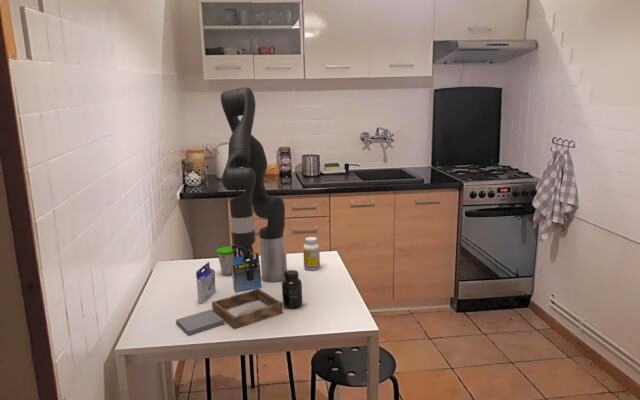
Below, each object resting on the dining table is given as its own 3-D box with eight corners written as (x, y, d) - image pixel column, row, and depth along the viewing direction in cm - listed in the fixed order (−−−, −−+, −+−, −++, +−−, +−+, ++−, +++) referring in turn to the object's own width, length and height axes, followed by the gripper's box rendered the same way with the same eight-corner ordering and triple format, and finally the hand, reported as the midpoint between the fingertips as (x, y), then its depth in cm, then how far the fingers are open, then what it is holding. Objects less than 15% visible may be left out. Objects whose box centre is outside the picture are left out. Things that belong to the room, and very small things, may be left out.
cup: (213, 275, 204) (211, 239, 201) (227, 269, 211) (224, 234, 208) (228, 278, 200) (226, 242, 197) (241, 272, 207) (239, 237, 203)
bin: (258, 297, 182) (258, 288, 181) (282, 312, 169) (282, 303, 168) (212, 311, 171) (211, 302, 170) (234, 328, 159) (233, 318, 158)
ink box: (203, 303, 178) (201, 272, 176) (197, 303, 179) (195, 272, 176) (216, 290, 189) (214, 261, 187) (210, 290, 190) (208, 261, 187)
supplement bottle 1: (305, 302, 177) (304, 269, 174) (298, 310, 171) (297, 276, 168) (287, 299, 179) (285, 268, 176) (279, 307, 173) (278, 275, 170)
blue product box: (259, 284, 172) (256, 250, 169) (261, 288, 168) (259, 253, 165) (233, 288, 169) (230, 254, 166) (235, 293, 165) (232, 257, 162)
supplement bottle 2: (302, 266, 212) (301, 236, 209) (317, 264, 213) (317, 235, 210) (305, 271, 205) (304, 241, 203) (321, 269, 207) (320, 240, 204)
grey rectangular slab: (211, 313, 170) (210, 309, 170) (224, 324, 162) (223, 319, 162) (176, 323, 163) (176, 319, 163) (188, 335, 155) (188, 331, 155)
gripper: (264, 231, 160) (267, 281, 164) (242, 222, 171) (246, 269, 175) (243, 236, 156) (247, 287, 160) (222, 226, 167) (226, 274, 171)
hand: (246, 277), depth 167 cm, fingers closed on blue product box, 4 cm apart
